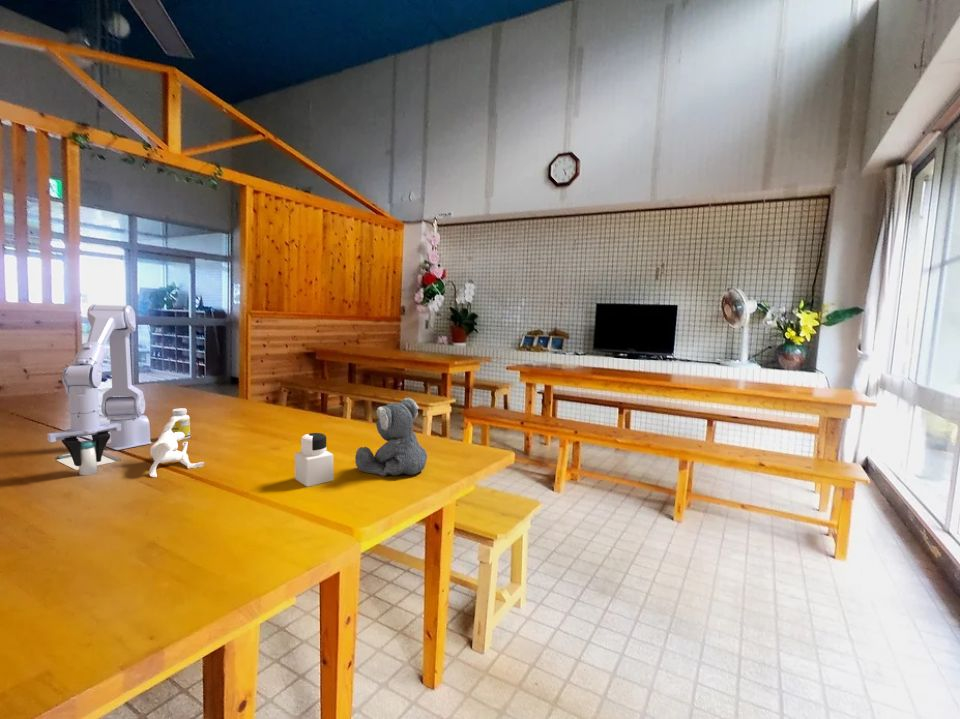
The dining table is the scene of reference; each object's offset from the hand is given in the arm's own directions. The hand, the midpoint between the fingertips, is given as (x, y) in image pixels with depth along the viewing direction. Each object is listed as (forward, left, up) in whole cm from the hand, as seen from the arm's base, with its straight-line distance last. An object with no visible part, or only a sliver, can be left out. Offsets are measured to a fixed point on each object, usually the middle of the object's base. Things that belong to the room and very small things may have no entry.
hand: (87, 463), depth 120 cm
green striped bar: (-4, -20, -3) cm, 21 cm away
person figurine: (-15, +10, -3) cm, 18 cm away
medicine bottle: (-30, +51, -3) cm, 59 cm away
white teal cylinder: (0, 0, -3) cm, 3 cm away
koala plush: (-49, +62, -3) cm, 79 cm away
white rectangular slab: (-4, -12, -3) cm, 13 cm away
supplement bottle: (-30, -16, -3) cm, 34 cm away
